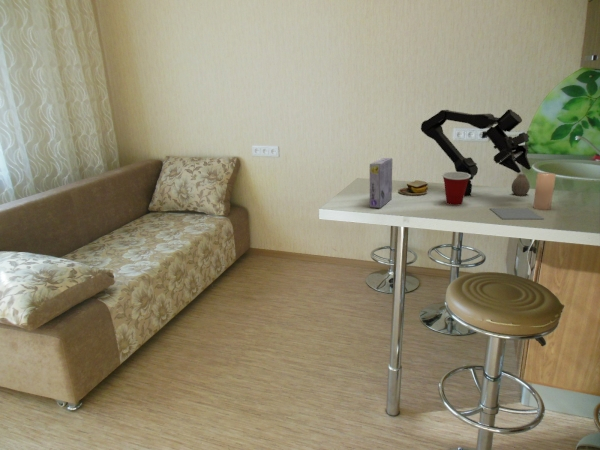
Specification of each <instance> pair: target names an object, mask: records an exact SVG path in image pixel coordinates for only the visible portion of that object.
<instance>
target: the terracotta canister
mask: <svg viewBox="0 0 600 450" xmlns="http://www.w3.org/2000/svg"><path fill="white" fill-rule="evenodd" d="M556 177H557V176H556V173H553V172H537V176H536V183H535V191H534V197H533V205H532V207H533V208H534V209H537V210H542V211H543V210H544V211H547V210H549V211H550V210H551V208H552V203H553V196H554V190H555V185H556V184H555V183H556Z"/></svg>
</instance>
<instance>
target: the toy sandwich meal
mask: <svg viewBox="0 0 600 450" xmlns="http://www.w3.org/2000/svg"><path fill="white" fill-rule="evenodd" d="M406 186H407V187H404V188H400V189H398V192H399V193H400V194H401V195H403V196H410V197H411V196H412V197H413V196H414V197H415V196H418V197H420V196H424V195H426V194H427V193H428V191H429V190H428V189H429V188H428V182H426V181H422V180H414V181H410V182H409V183H406Z"/></svg>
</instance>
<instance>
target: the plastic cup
mask: <svg viewBox="0 0 600 450" xmlns="http://www.w3.org/2000/svg"><path fill="white" fill-rule="evenodd" d="M441 176H442V178H443V182H444V184H443V185H444V194H445V200H446V201H445V202H446V204H448V205H452V206H460V205H462V203H463V201H464V197H465V196H464V194H465V191H466V187H467V183H468V181H469V178H470V177H471V175H470V174H468V173H464V172H457V171H447V172H444V173H442V175H441Z"/></svg>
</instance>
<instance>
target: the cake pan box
mask: <svg viewBox="0 0 600 450" xmlns="http://www.w3.org/2000/svg"><path fill="white" fill-rule="evenodd" d="M392 198H393V158H392V157H385V158H384V157H383V158H380V159H378V160H376V161H374V162H371V163H369V208H373V209H381V208H382V207H384V206H386V204H387V205H388V202H390V201H391V200H392Z"/></svg>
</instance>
